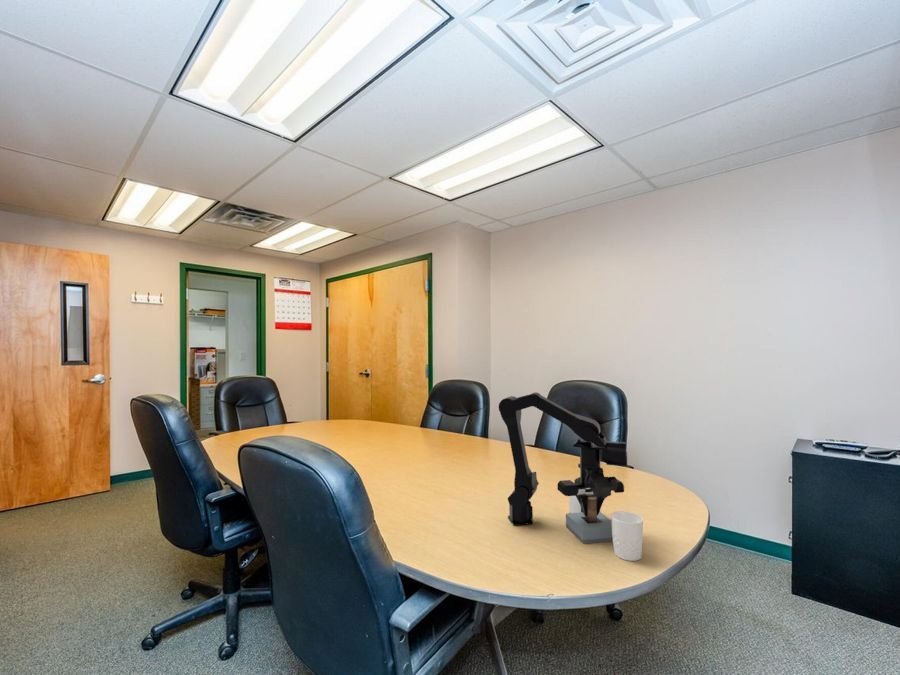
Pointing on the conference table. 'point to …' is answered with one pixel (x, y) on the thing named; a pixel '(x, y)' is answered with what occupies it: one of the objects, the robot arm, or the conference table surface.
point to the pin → (591, 508)
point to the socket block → (589, 528)
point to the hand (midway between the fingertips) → (591, 515)
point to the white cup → (627, 535)
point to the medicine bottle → (576, 501)
